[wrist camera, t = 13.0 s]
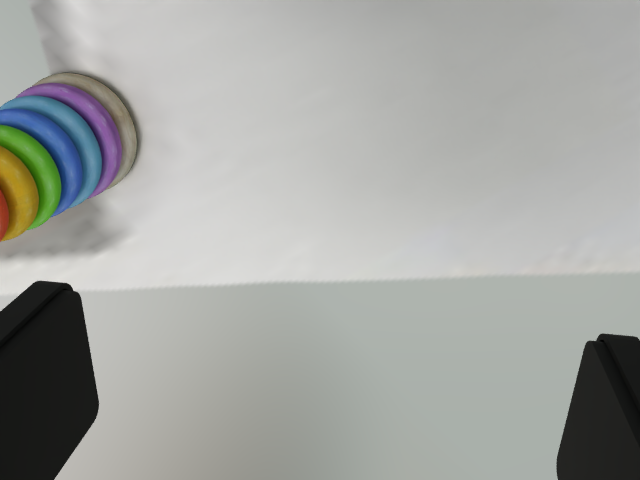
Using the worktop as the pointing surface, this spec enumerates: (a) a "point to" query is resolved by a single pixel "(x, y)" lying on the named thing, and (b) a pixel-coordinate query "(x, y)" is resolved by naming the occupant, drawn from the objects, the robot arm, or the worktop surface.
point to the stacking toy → (60, 149)
